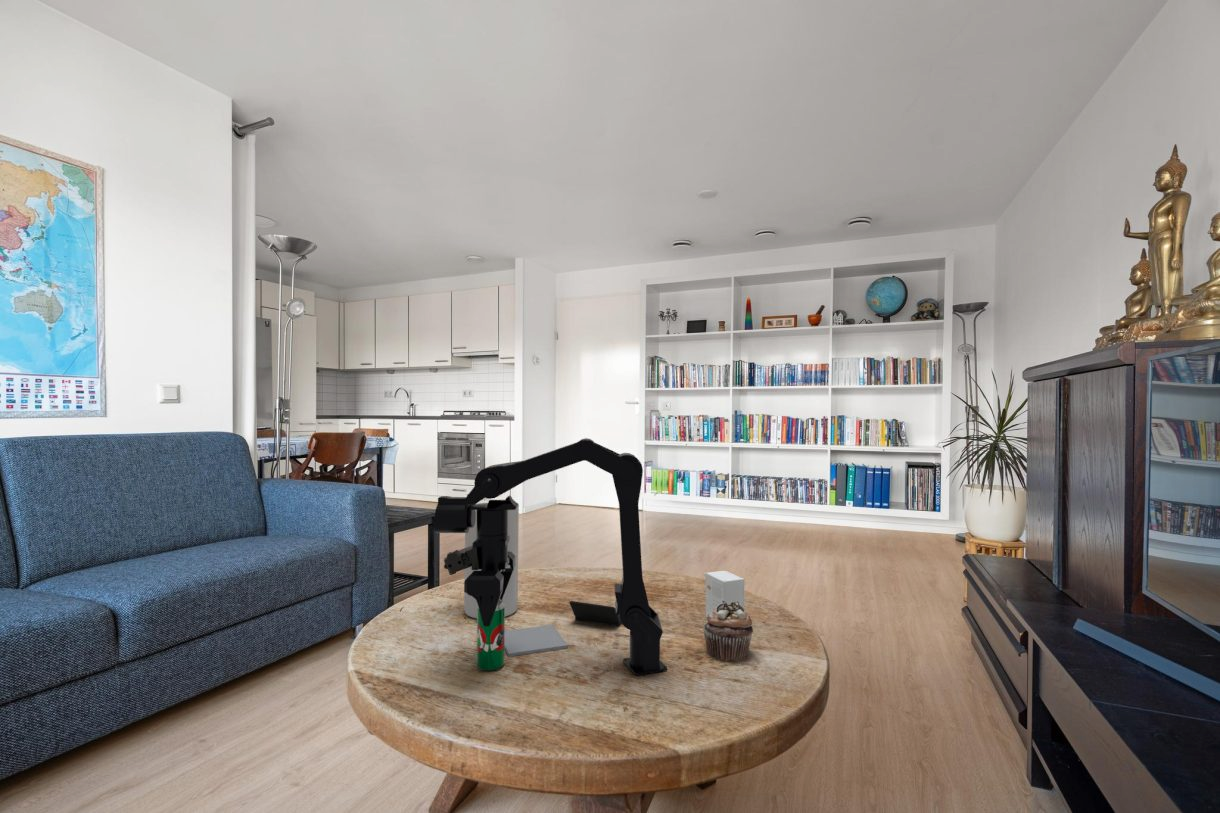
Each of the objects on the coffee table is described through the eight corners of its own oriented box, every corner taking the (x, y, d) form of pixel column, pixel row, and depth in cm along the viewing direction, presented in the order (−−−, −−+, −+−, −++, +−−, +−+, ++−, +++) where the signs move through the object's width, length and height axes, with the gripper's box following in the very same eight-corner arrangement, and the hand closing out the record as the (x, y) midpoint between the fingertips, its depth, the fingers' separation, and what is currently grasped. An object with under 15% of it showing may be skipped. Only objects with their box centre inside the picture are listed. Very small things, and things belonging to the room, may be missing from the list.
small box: (745, 626, 127) (745, 578, 127) (723, 629, 125) (724, 581, 125) (725, 614, 134) (725, 569, 134) (704, 617, 132) (705, 572, 132)
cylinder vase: (511, 600, 143) (512, 501, 144) (522, 616, 132) (523, 509, 132) (461, 605, 139) (462, 503, 139) (467, 623, 127) (469, 511, 128)
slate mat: (568, 648, 114) (568, 645, 114) (508, 656, 110) (508, 653, 110) (552, 627, 125) (552, 624, 125) (497, 634, 121) (497, 631, 121)
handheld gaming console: (628, 608, 134) (619, 582, 128) (627, 636, 128) (617, 610, 122) (582, 611, 136) (570, 585, 130) (578, 639, 130) (566, 613, 125)
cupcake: (740, 642, 118) (740, 593, 118) (760, 662, 108) (760, 609, 108) (696, 644, 116) (696, 595, 117) (712, 665, 107) (712, 611, 107)
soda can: (506, 660, 108) (506, 597, 108) (501, 672, 103) (502, 606, 103) (479, 660, 108) (480, 597, 108) (474, 672, 103) (474, 606, 103)
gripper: (461, 523, 115) (460, 600, 115) (434, 544, 96) (433, 636, 96) (516, 523, 115) (515, 600, 115) (500, 544, 97) (499, 636, 96)
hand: (491, 616), depth 106 cm, fingers open, 9 cm apart
